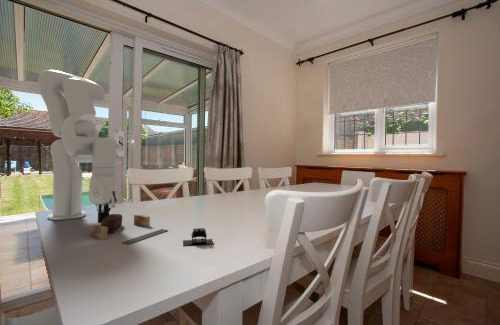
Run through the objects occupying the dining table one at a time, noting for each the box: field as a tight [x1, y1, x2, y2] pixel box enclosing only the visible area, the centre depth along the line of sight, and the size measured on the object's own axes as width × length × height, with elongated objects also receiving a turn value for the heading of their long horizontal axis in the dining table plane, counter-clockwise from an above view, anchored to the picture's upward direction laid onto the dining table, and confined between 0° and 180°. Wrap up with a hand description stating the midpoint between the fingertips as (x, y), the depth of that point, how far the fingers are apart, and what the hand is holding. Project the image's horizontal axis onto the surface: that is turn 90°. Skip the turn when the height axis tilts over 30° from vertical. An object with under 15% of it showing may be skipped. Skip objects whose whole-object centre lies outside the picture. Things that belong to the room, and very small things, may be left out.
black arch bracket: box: [182, 227, 215, 248], centre depth 76 cm, size 12×7×5 cm, turn 104°
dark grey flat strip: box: [121, 228, 169, 246], centre depth 80 cm, size 3×16×1 cm, turn 154°
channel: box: [89, 213, 151, 240], centre depth 85 cm, size 6×18×4 cm, turn 154°
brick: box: [100, 213, 123, 235], centre depth 86 cm, size 11×4×5 cm, turn 14°
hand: (103, 222), depth 90 cm, fingers closed
